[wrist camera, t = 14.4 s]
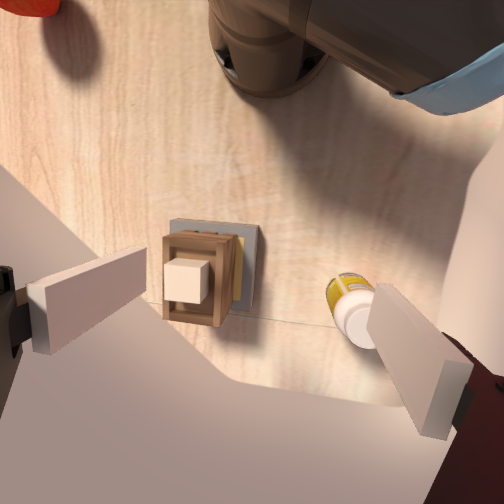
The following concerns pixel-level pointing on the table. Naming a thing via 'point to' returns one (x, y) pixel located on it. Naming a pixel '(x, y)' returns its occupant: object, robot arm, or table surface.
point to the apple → (31, 7)
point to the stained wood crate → (220, 275)
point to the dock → (243, 257)
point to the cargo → (186, 280)
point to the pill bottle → (351, 306)
